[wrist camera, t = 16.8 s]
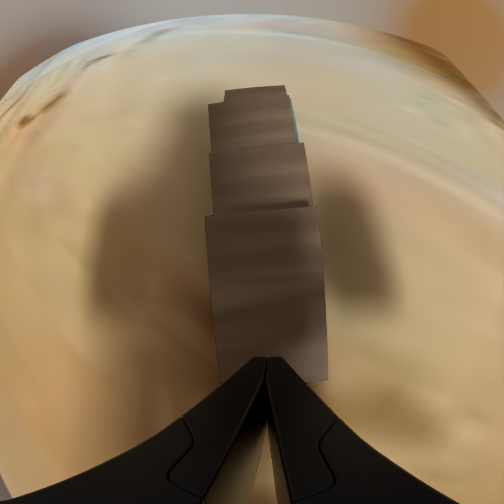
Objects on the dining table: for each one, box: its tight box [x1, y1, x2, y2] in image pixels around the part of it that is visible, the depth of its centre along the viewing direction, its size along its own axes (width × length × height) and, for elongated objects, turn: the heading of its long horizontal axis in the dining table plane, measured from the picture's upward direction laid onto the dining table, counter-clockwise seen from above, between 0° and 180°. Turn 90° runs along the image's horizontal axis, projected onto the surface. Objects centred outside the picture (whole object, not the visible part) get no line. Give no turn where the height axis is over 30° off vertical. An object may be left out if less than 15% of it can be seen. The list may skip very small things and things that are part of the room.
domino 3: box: [209, 143, 313, 215], centre depth 15 cm, size 2×5×8 cm
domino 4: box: [205, 206, 328, 384], centre depth 13 cm, size 2×5×8 cm
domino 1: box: [224, 85, 298, 143], centre depth 20 cm, size 2×5×8 cm
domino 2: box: [208, 95, 297, 153], centre depth 17 cm, size 2×5×8 cm
